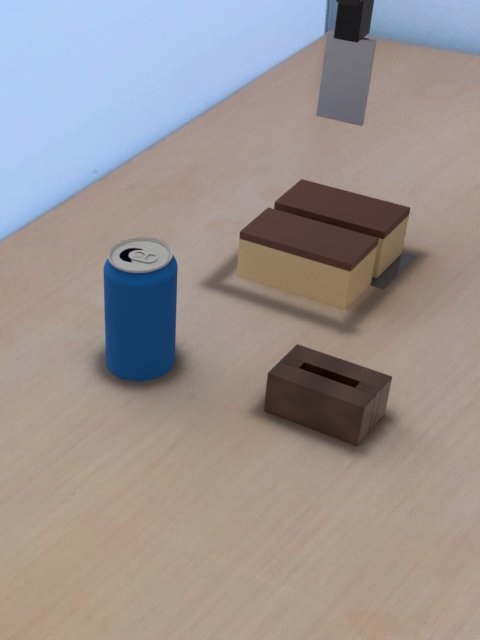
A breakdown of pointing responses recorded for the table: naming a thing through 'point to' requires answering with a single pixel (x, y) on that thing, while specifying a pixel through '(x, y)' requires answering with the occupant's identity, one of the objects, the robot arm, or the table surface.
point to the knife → (347, 65)
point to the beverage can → (140, 308)
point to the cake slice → (306, 257)
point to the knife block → (327, 394)
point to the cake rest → (351, 216)
